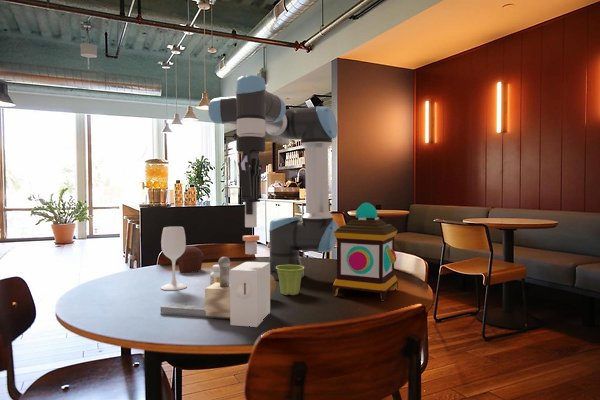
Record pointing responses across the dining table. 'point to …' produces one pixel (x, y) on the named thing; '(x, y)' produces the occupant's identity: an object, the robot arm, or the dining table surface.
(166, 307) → the rail track
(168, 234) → the wineglass
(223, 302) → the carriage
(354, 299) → the dining table surface
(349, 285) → the decorative lantern
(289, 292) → the plant pot
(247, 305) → the end cabinet
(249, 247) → the orange mushroom
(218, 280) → the supplement bottle
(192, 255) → the muffin
